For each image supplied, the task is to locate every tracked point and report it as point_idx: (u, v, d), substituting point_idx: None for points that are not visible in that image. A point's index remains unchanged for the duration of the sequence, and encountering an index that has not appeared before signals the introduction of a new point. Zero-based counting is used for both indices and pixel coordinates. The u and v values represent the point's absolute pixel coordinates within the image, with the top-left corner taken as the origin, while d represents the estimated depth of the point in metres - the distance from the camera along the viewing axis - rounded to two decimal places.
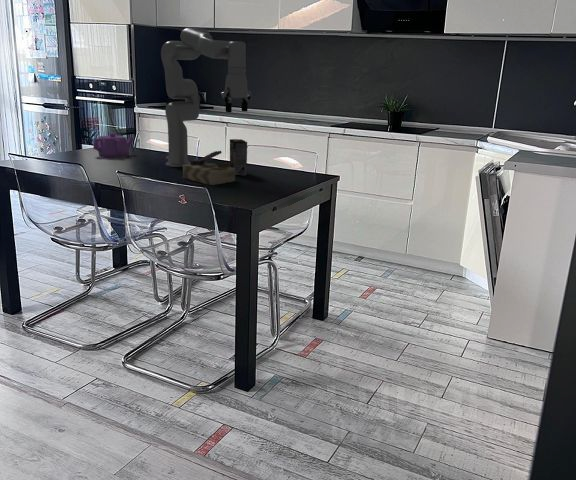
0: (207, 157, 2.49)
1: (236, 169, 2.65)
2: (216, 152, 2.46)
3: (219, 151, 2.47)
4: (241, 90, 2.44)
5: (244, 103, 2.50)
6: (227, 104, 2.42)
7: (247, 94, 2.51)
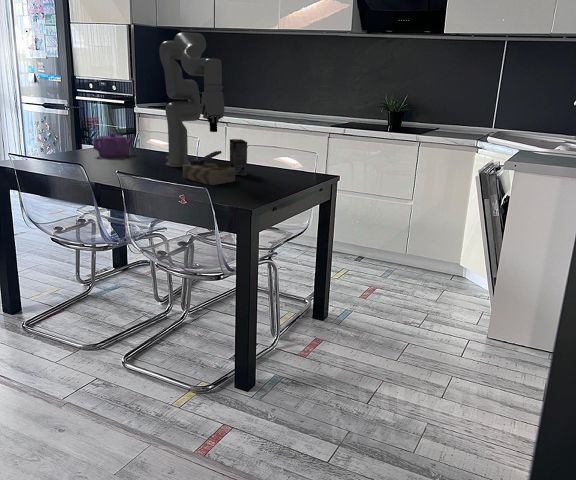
0: (207, 157, 2.49)
1: (236, 169, 2.65)
2: (216, 152, 2.46)
3: (219, 151, 2.47)
4: (217, 107, 2.42)
5: None
6: (211, 124, 2.44)
7: (218, 115, 2.46)
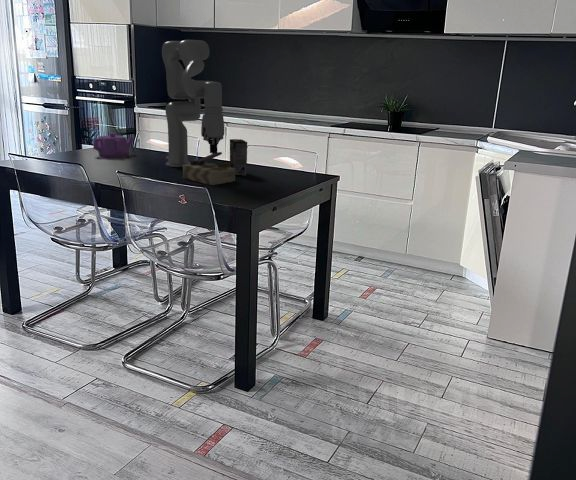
0: (207, 158, 2.49)
1: (236, 169, 2.65)
2: (216, 153, 2.46)
3: (219, 152, 2.47)
4: (217, 129, 2.45)
5: None
6: (211, 146, 2.47)
7: (219, 136, 2.49)
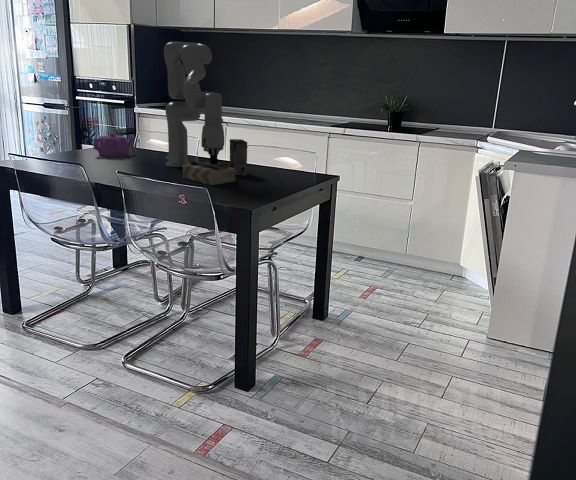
0: None
1: (236, 169, 2.65)
2: None
3: None
4: (218, 140, 2.46)
5: None
6: (211, 156, 2.48)
7: None
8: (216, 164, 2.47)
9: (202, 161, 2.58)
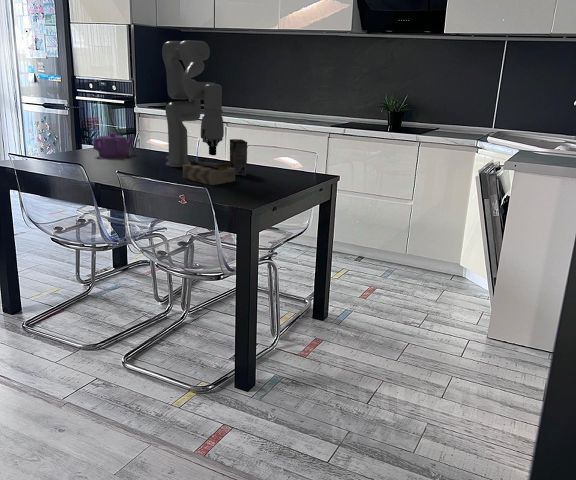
0: None
1: (236, 169, 2.65)
2: None
3: None
4: (217, 131, 2.45)
5: None
6: (210, 147, 2.47)
7: (218, 138, 2.50)
8: (216, 164, 2.47)
9: (202, 161, 2.58)
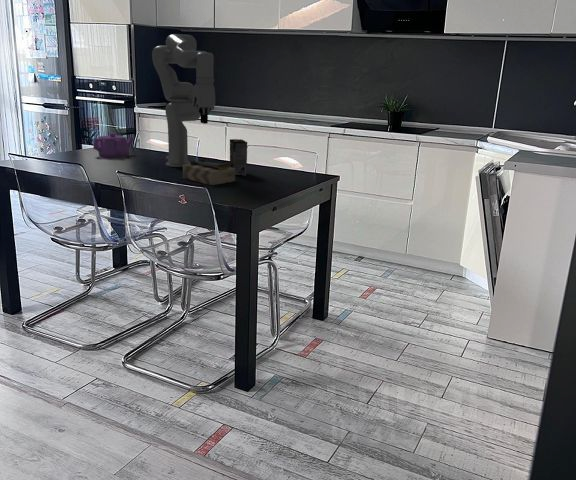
0: None
1: (236, 169, 2.65)
2: None
3: None
4: (208, 100, 2.50)
5: None
6: (202, 115, 2.52)
7: (209, 107, 2.55)
8: (216, 164, 2.47)
9: (202, 161, 2.58)
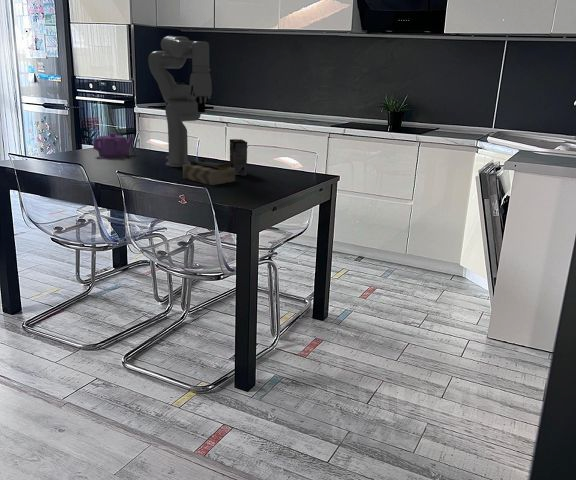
0: None
1: (236, 169, 2.65)
2: None
3: None
4: (205, 88, 2.52)
5: None
6: (199, 104, 2.54)
7: (206, 96, 2.57)
8: (216, 164, 2.47)
9: (202, 161, 2.58)
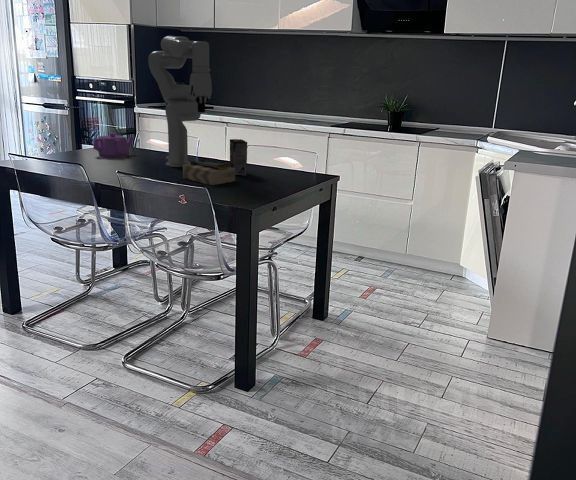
0: None
1: (236, 169, 2.65)
2: None
3: None
4: (205, 88, 2.52)
5: None
6: (199, 104, 2.54)
7: (206, 96, 2.57)
8: (216, 164, 2.47)
9: (202, 161, 2.58)
